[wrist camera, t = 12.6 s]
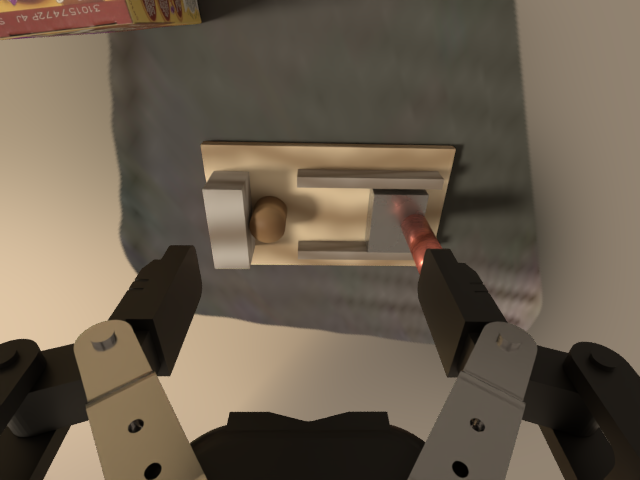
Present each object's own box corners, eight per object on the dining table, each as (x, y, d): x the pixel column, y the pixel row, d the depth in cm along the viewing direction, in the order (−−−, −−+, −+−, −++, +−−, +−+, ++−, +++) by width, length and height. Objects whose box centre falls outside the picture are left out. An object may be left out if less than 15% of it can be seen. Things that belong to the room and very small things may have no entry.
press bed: (203, 141, 41) (187, 160, 35) (452, 145, 41) (472, 165, 36) (220, 258, 49) (209, 288, 44) (427, 260, 50) (440, 290, 45)
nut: (252, 195, 43) (247, 211, 40) (286, 196, 43) (284, 212, 40) (255, 225, 45) (250, 242, 42) (287, 225, 45) (285, 242, 42)
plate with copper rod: (370, 183, 42) (386, 232, 33) (426, 184, 43) (458, 233, 33) (364, 239, 46) (377, 296, 37) (415, 239, 47) (441, 297, 37)
